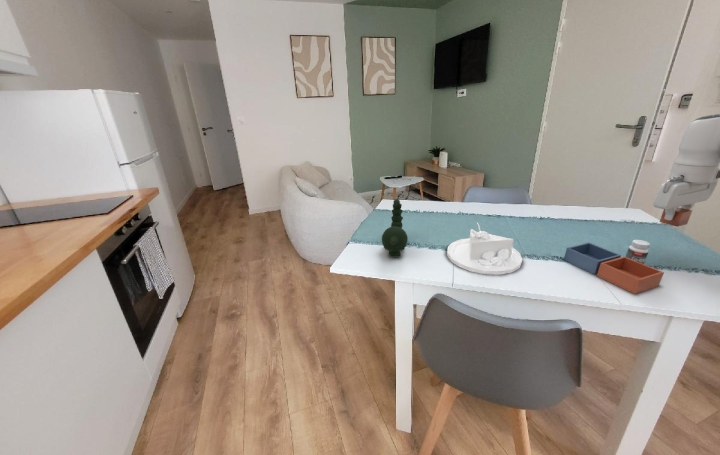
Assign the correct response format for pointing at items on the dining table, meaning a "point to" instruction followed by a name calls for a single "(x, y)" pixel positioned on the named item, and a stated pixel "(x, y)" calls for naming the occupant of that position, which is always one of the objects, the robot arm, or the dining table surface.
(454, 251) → the dish
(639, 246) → the pill bottle
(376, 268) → the dining table surface
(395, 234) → the green topiary ornament
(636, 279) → the terracotta bin
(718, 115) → the robot arm
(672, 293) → the dining table surface
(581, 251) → the blue bin
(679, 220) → the block
